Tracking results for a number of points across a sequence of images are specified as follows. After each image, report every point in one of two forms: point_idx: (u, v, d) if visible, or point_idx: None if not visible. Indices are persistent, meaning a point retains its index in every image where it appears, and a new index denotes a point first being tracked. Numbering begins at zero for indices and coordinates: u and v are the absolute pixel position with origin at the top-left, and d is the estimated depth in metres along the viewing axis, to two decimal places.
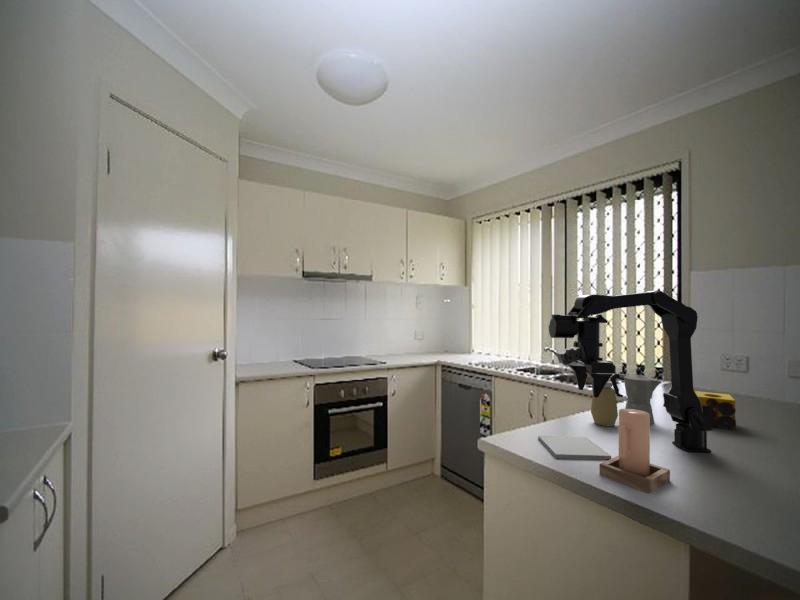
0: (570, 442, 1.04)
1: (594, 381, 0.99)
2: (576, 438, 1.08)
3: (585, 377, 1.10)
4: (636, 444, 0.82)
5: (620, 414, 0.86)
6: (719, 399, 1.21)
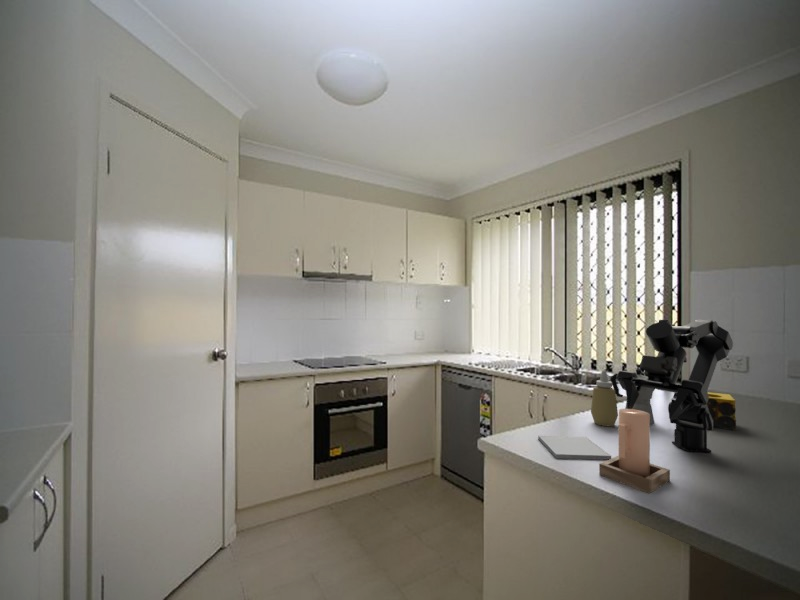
0: (570, 442, 1.04)
1: (682, 401, 0.86)
2: (576, 438, 1.08)
3: (634, 400, 0.96)
4: (636, 444, 0.82)
5: (620, 414, 0.86)
6: (719, 399, 1.21)
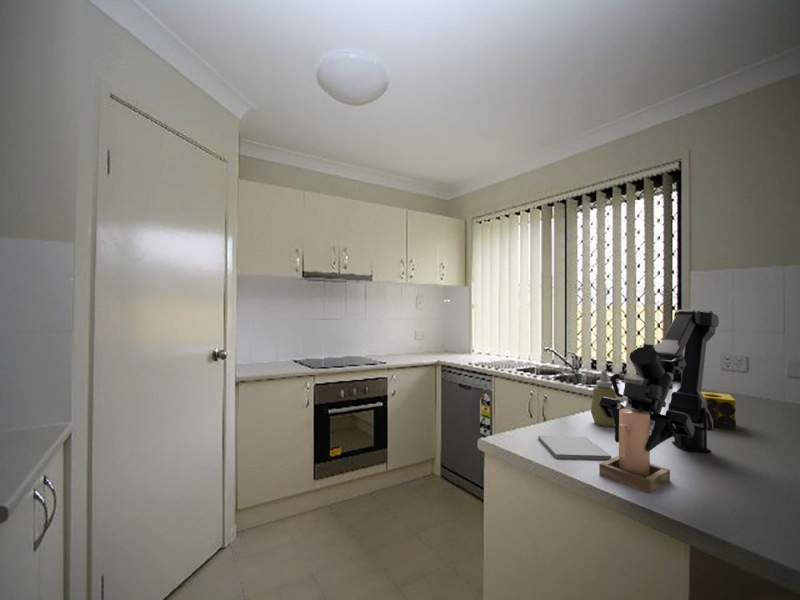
0: (570, 442, 1.04)
1: (659, 432, 0.82)
2: (576, 438, 1.08)
3: None
4: (636, 445, 0.82)
5: (620, 414, 0.85)
6: (719, 399, 1.21)
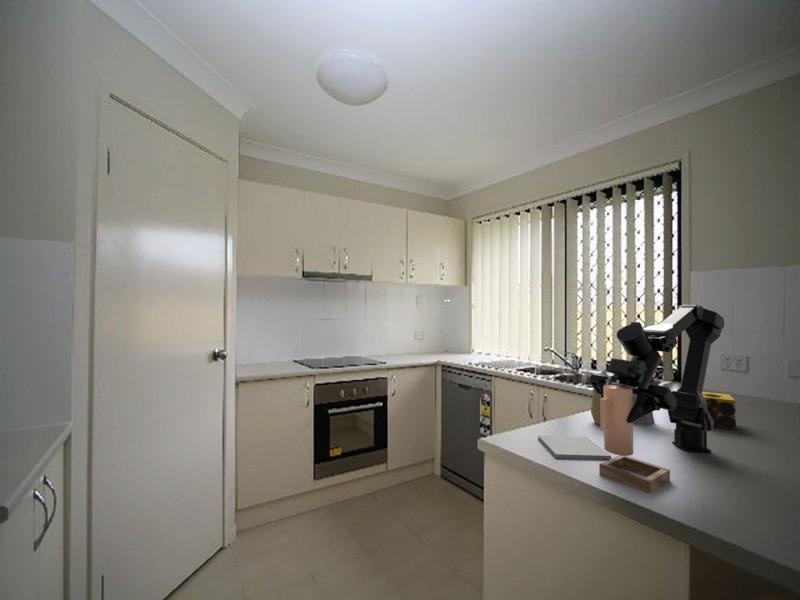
0: (570, 442, 1.04)
1: (641, 405, 0.85)
2: (576, 438, 1.08)
3: None
4: (618, 418, 0.86)
5: (604, 389, 0.89)
6: (719, 399, 1.21)
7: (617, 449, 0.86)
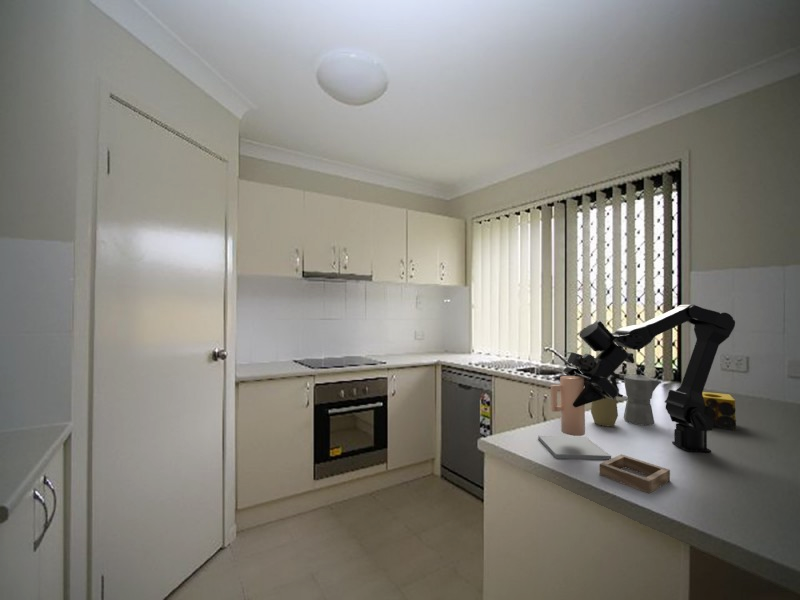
0: (570, 442, 1.04)
1: (585, 392, 0.98)
2: (576, 438, 1.08)
3: None
4: (566, 403, 1.01)
5: None
6: (719, 399, 1.21)
7: (566, 429, 1.01)
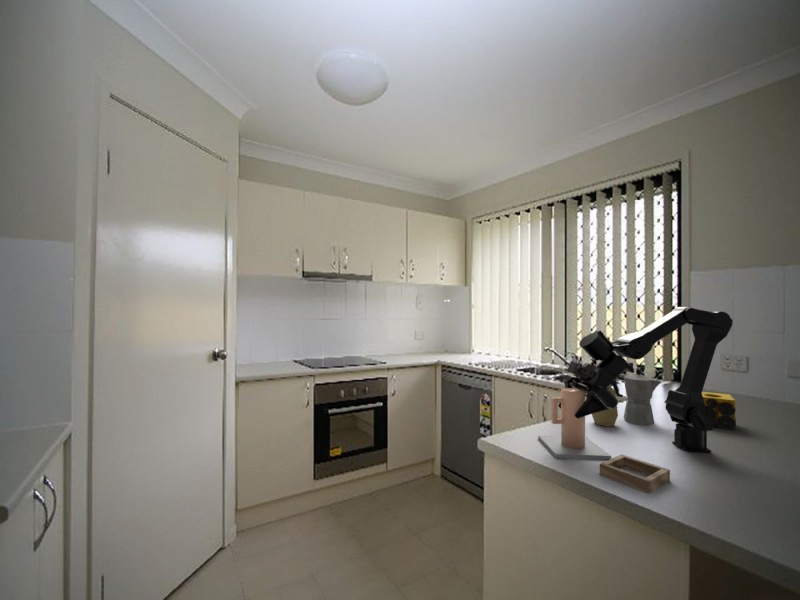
0: None
1: (588, 403, 0.97)
2: None
3: None
4: (566, 415, 1.01)
5: None
6: (719, 399, 1.21)
7: (566, 442, 1.01)
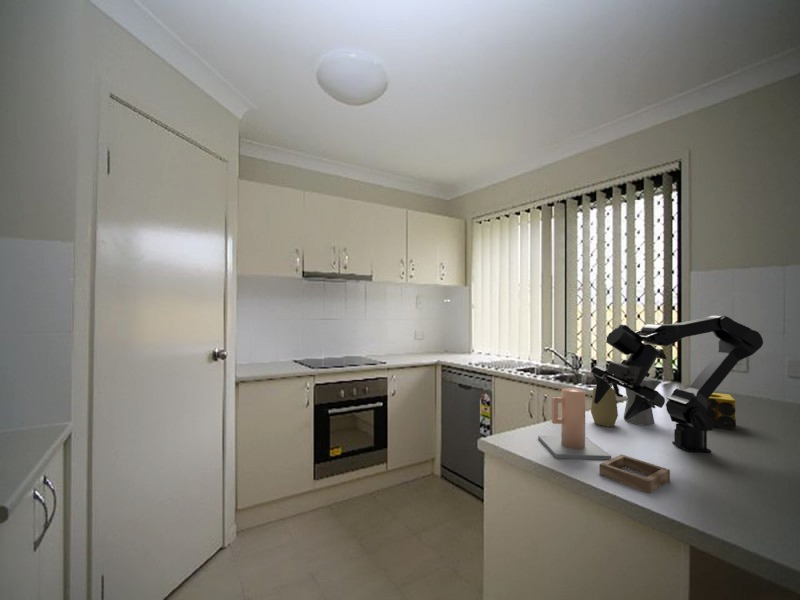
0: None
1: (638, 406, 0.97)
2: None
3: (603, 394, 1.08)
4: (567, 415, 1.01)
5: None
6: (719, 399, 1.21)
7: (566, 442, 1.01)
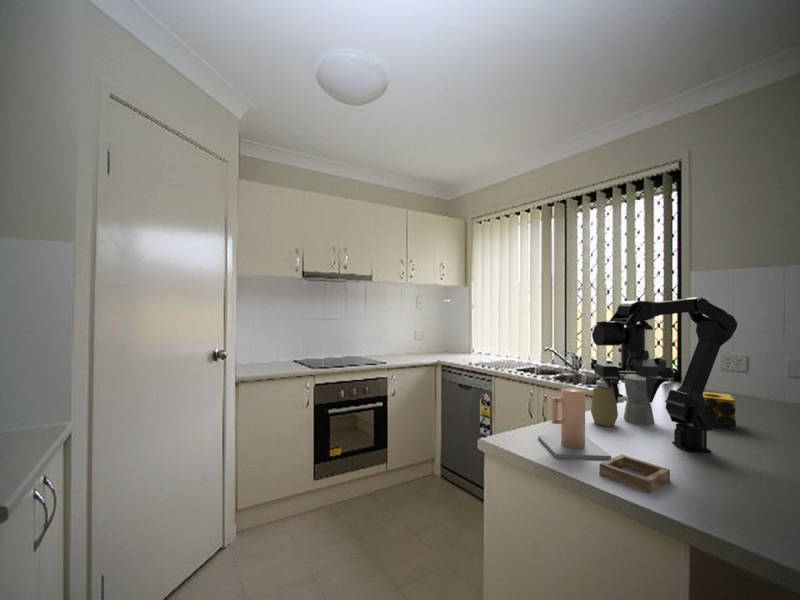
0: None
1: None
2: None
3: None
4: (567, 415, 1.01)
5: None
6: (719, 399, 1.21)
7: (566, 442, 1.01)
